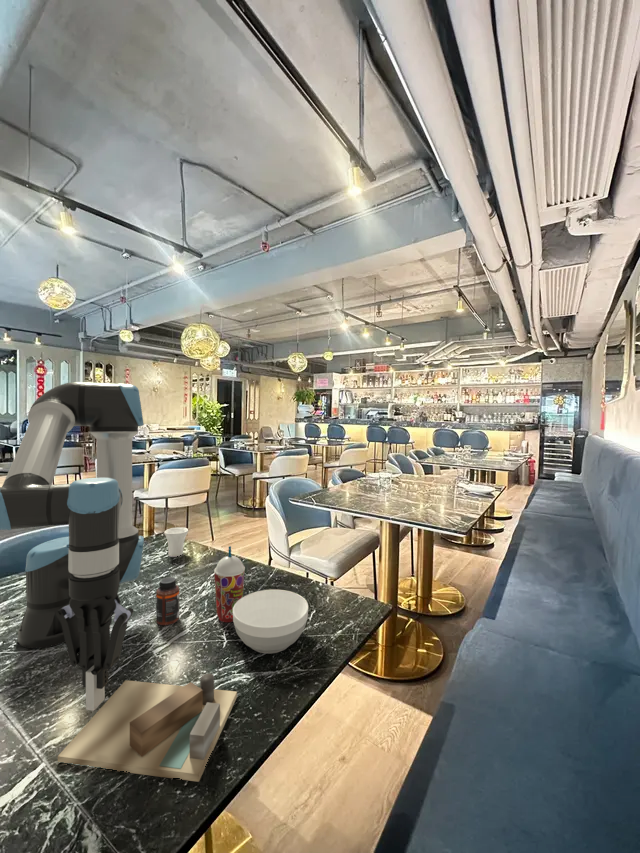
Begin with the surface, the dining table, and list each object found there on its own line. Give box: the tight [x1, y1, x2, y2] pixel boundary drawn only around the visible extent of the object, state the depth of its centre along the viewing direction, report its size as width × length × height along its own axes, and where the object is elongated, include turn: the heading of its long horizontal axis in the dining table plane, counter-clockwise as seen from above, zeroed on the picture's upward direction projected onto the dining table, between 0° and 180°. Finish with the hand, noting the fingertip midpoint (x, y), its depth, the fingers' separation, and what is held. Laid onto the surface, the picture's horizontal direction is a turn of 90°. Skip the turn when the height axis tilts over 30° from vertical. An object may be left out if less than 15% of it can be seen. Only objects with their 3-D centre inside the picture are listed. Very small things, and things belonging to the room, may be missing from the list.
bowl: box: [233, 589, 309, 655], centre depth 98 cm, size 19×19×9 cm
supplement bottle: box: [155, 576, 180, 626], centre depth 106 cm, size 6×6×11 cm
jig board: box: [57, 673, 238, 783], centre depth 71 cm, size 24×18×6 cm
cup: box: [163, 526, 189, 558], centre depth 154 cm, size 9×9×10 cm
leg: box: [130, 681, 203, 757], centre depth 69 cm, size 12×4×4 cm, turn 145°
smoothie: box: [213, 545, 246, 623], centre depth 108 cm, size 8×8×20 cm
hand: (95, 704), depth 67 cm, fingers closed
